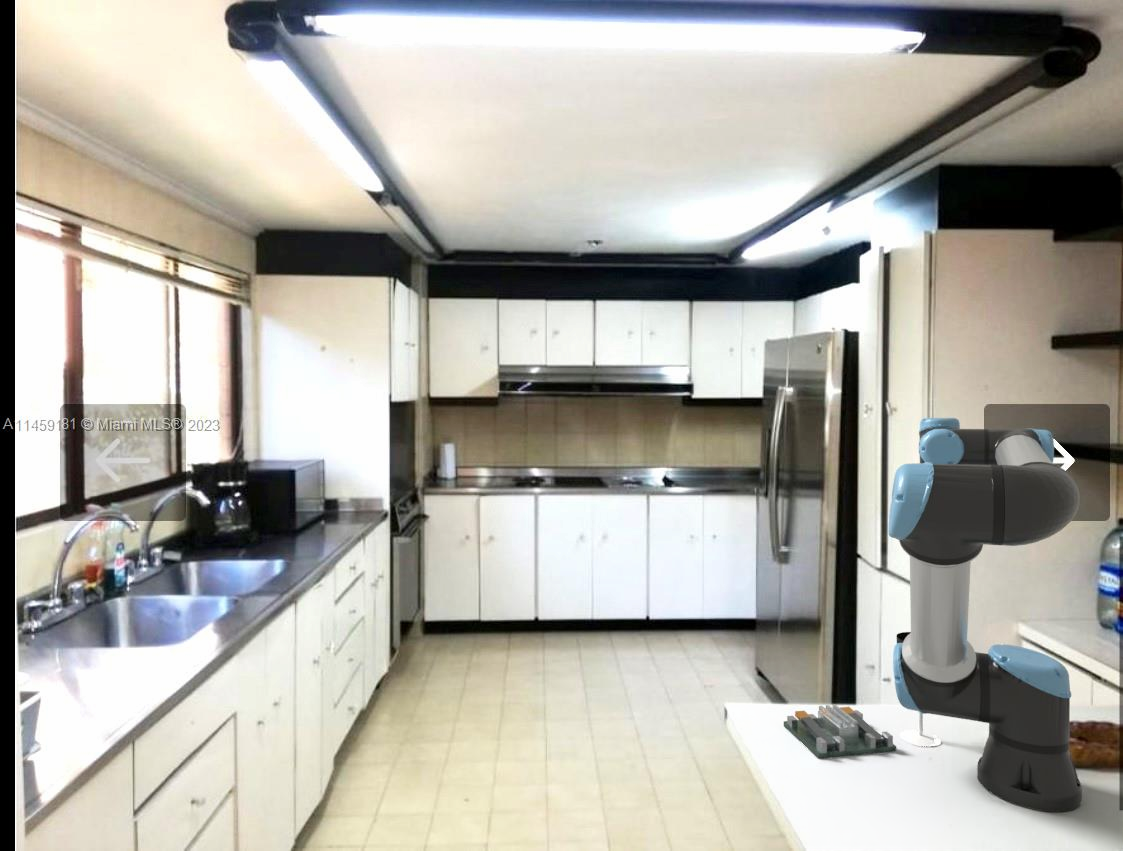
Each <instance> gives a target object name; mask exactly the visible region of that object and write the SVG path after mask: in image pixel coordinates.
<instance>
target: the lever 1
mask: <svg viewBox="0 0 1123 851" xmlns="http://www.w3.org/2000/svg"><path fill="white" fill-rule="evenodd" d="M808 714H809V713H807V711H806V710H795V712H794V717H795V718H796V719H797V720H799V721H800V722H801V723H802V724H803V725H804V726H805V727H806V728H807V729H808V731H809V732H810V733H811V734H812V735H813V736H814V737H815V738H820V737H821V738H823V739H824V740H825V741H826V742H827V749H830V748H835V742H834V741H833V740H832V739H831V738H830V737H829V736H828V735H827V734H826V733H825V732H824V731H823V730H822V728H821V727H820V726H819V725H818V724H817V723H816V722H815V721H814V720H813V719H812V718H811V717H810V716H809V715H808Z"/></svg>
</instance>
